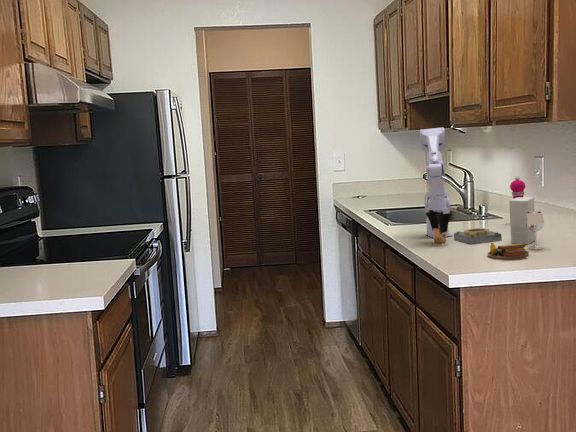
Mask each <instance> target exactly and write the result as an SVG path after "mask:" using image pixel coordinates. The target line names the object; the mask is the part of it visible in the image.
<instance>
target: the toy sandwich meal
mask: <svg viewBox="0 0 576 432" xmlns="http://www.w3.org/2000/svg"><path fill="white" fill-rule="evenodd" d="M489 247H490V249H489V251H488V252H487V256H489V257H490V258H492V259H497V260H515V259H523V258H526V257H527V256H528V255H529V251H528V250H526V249H525V248H526V244H506V245H505V244H504V245H497V246H495V243H494V242H490V246H489Z"/></svg>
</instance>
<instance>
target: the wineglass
mask: <svg viewBox="0 0 576 432" xmlns="http://www.w3.org/2000/svg"><path fill="white" fill-rule="evenodd" d="M525 224H526V227H527V229H529V230H531V231H534V237H535V241H534V245H533V246H529V247H528V249H529V250H541V249H544V247H543V246H540V245H538V244H537V237H538V233H537V232H538V231H541V230H543V228H544V227H545V218H544V214H543V212H542V211H535V210H534V212H527V214H526V220H525Z"/></svg>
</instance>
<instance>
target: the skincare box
mask: <svg viewBox="0 0 576 432" xmlns="http://www.w3.org/2000/svg"><path fill="white" fill-rule="evenodd" d="M508 205H509V221H510V223H509V224H510V243H511V244H510V245H512V244H525V245H530V244H531V243H533V242H535V237H534V231H531V230H529V229H527V227H526V224H525V220H526V214H527V212H534V211H535V197H534V196H529V197H528V196H523V197H518V198H515V199H513V198H512V199H511V200H509V203H508Z"/></svg>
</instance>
